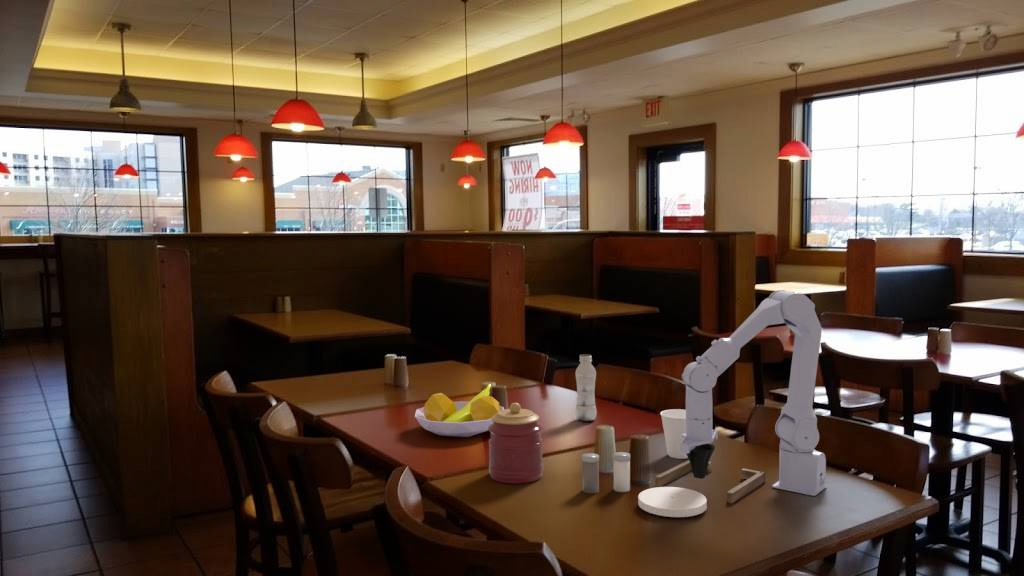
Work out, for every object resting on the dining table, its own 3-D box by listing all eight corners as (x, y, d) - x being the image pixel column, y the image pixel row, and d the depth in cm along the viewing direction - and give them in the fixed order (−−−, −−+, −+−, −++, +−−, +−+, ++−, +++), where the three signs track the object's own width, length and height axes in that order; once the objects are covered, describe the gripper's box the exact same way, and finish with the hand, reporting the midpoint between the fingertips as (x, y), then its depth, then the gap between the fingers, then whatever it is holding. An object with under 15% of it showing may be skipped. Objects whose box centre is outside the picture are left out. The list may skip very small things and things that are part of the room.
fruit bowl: (450, 449, 210) (450, 407, 209) (397, 430, 230) (396, 392, 230) (530, 431, 227) (529, 392, 226) (474, 414, 248) (473, 379, 247)
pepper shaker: (602, 490, 175) (602, 455, 175) (593, 494, 172) (592, 459, 172) (588, 486, 178) (588, 452, 177) (578, 491, 175) (578, 456, 174)
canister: (481, 471, 190) (480, 399, 189) (531, 465, 195) (530, 395, 193) (499, 487, 178) (498, 411, 177) (552, 480, 182) (551, 405, 181)
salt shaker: (633, 488, 176) (633, 454, 175) (624, 493, 173) (624, 458, 172) (619, 485, 178) (619, 451, 178) (610, 489, 175) (609, 454, 175)
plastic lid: (700, 525, 155) (700, 513, 154) (631, 516, 160) (631, 504, 160) (711, 502, 167) (711, 491, 167) (646, 494, 173) (646, 483, 173)
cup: (671, 463, 194) (671, 419, 194) (653, 452, 204) (653, 410, 203) (706, 459, 197) (707, 416, 196) (687, 448, 207) (688, 407, 206)
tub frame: (765, 482, 179) (765, 472, 179) (732, 503, 166) (732, 493, 166) (691, 467, 191) (691, 458, 191) (655, 486, 178) (655, 476, 177)
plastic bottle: (596, 417, 241) (596, 353, 240) (596, 423, 235) (596, 357, 233) (575, 417, 242) (575, 353, 241) (575, 423, 235) (574, 357, 234)
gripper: (697, 408, 181) (697, 466, 182) (666, 421, 170) (667, 482, 171) (726, 412, 176) (726, 471, 177) (696, 426, 165) (697, 488, 166)
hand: (699, 477), depth 174 cm, fingers closed
